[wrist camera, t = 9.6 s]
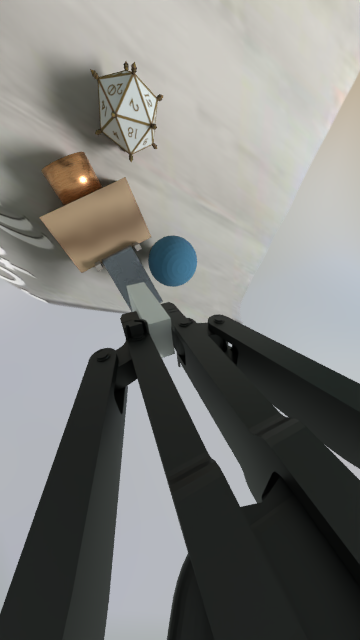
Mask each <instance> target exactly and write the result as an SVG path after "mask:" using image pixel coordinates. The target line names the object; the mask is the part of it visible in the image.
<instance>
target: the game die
mask: <svg viewBox="0 0 360 640" xmlns="http://www.w3.org/2000/svg"><path fill="white" fill-rule="evenodd" d="M131 67H132V69H131V70H132V72H131V71H128V70H129V69H128V64H127V62H125V63H124V69H125V70H124V71H120V72H117V73H113V74H109V75H105V76H102V77H98V75H97V73H96V72H95V71H94V70H91V69H90V70H91V72H92V75H93V76H94V77H95V78H96V79H97V80H98V95H99V113H100V129H98V130H96V133H95V134H97V135H101V133H103V134H105V135H106V136H107V137H108V138H110V139H111V140H112V141H113V142H115V143H116V144H117V145H118V146H120V147H121V148H122V149H123V150H124V151H126V152H127V153H128V154H130V155H129V160H130V161H131V162H132V160H133V156H132V154H134V153H136V152H138V151H140V150H142V149H144V148H146V147H148V146H150V145H152V146H153V147H154V149H157V145H155V144H154V143H153V142H154V132H155V129H156V128H157V127H156V124H155V122H156V112H157V102H158V101H160V100H162V98H163V95H160V94H159V95H158V96H157V97H156V96H155V95H154V94H153V93H152V92H151V91H150V90H149V89H148V88H147V86H146V85H145V84H144V83H143V82H142V81H141V80H140V79H139V78H138V76H137V75H136V74H135V72H136V69H137V68H136V65H135V62H134V63H133V64H132V66H131Z"/></svg>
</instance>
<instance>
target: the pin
mask: <svg viewBox="0 0 360 640" xmlns="http://www.w3.org/2000/svg"><path fill="white" fill-rule="evenodd" d="M41 171H42V173H43V174H44V176H45V177H46V179H47V180H48V182H49V184H50V185H51V187H52V188H53V190H54V191H55V193H56V194H57V196H58V197H59V199H60V200H61V202H62V203H63V205H66V204H68V203H71V202H73V201H76V200H78V199H80V198H82V197H84V196H86V195H88V194H91V193H93V192H94V191H96V190H98V189H100V188H102V186H101V184H100V182H99V180H98V178H97V176H96V174H95V172H94V170H93V168H92V166H91V165H90V163H89V161H88V159H87V157H86V155H85V153H84V152H78V153H74V154H71V155H68V156H65V157H63V158H61V159H58V160H56V161H54V162H52V163H51V164H49V165H47V166H46V167H44V168H43V169H42V170H41Z"/></svg>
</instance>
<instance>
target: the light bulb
mask: <svg viewBox="0 0 360 640" xmlns="http://www.w3.org/2000/svg"><path fill="white" fill-rule="evenodd" d="M148 262H149V268H150V271H151V273H152V275H153V276H154V278H155V279H156V280H157V281H159V282H160V283H162V284H164V285H167V286H179V285H182V284H184V283H186V282H187V281H189V280H190V279H191V277H192V276H193V274H194V272H195V270H196V266H197V256H196V253H195V250H194V249H193V247H192V245H191V244H190V243H189V242H188V241H186V240H185V239H184V238H181V237H178V236H167V237H163V238H162V239H160V240H158V241H157V242H156V243H155V244H154V245H153V247H152V249H151V250H150V254H149V259H148Z"/></svg>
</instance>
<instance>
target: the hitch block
mask: <svg viewBox="0 0 360 640" xmlns="http://www.w3.org/2000/svg"><path fill="white" fill-rule="evenodd" d="M39 218H40V219H41V220H42V222H43V223H44V224H45V226H46V227H47V228H48V229H49V231H50V232H51V233H52V235H53V236H54V237H55V239H56V240H57V241H58V243H59V244H60V245H61V247H62V248H63V249H64V250H65V252H66V253H67V254H68V256H69V257H70V258H71V260H72V261H73V262H74V264H75V265H76V266H77V268H78V269H79V270H80V272H81V273H83V272H85V271H87V270H88V269H90V268H92V267H94V266H95V267H96V269H97V270H98V271H100V270H102V269H103V266H102V264H101V263H102V259H104V258H106V257H107V256H109V255H111V254H113V253H115V252H117V251H119V250H121V249H123V248H125V247H127V246H129V245H131V247H134V248H135V250H136V251H138V250H140V249H142V248H141V246H140V244H139V243H141V242H143V241H145V240H147V239H149V238H151V235H150V233H149V230H148V228H147V226H146V223H145V221H144V219H143V217H142V214H141V212H140V210H139V207H138V205H137V203H136V200H135V198H134V196H133V194H132V191H131V189H130V187H129V184H128V182H127V180H126V177H125V178H123V179H120V180H118V181H116V182H114V183H112V184H110V185H108V186H106V187H103V188H101V189H99V190H97V191H95V192H93V193H91V194H88V195H86V196H84V197H82V198H80V199H78V200H76V201H73V202H71V203H69V204H67V205H65V206H63V207H61V208H59V209H56V210H54V211H52V212H50V213H48V214H46V215H44V216H41V217H39Z"/></svg>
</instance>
